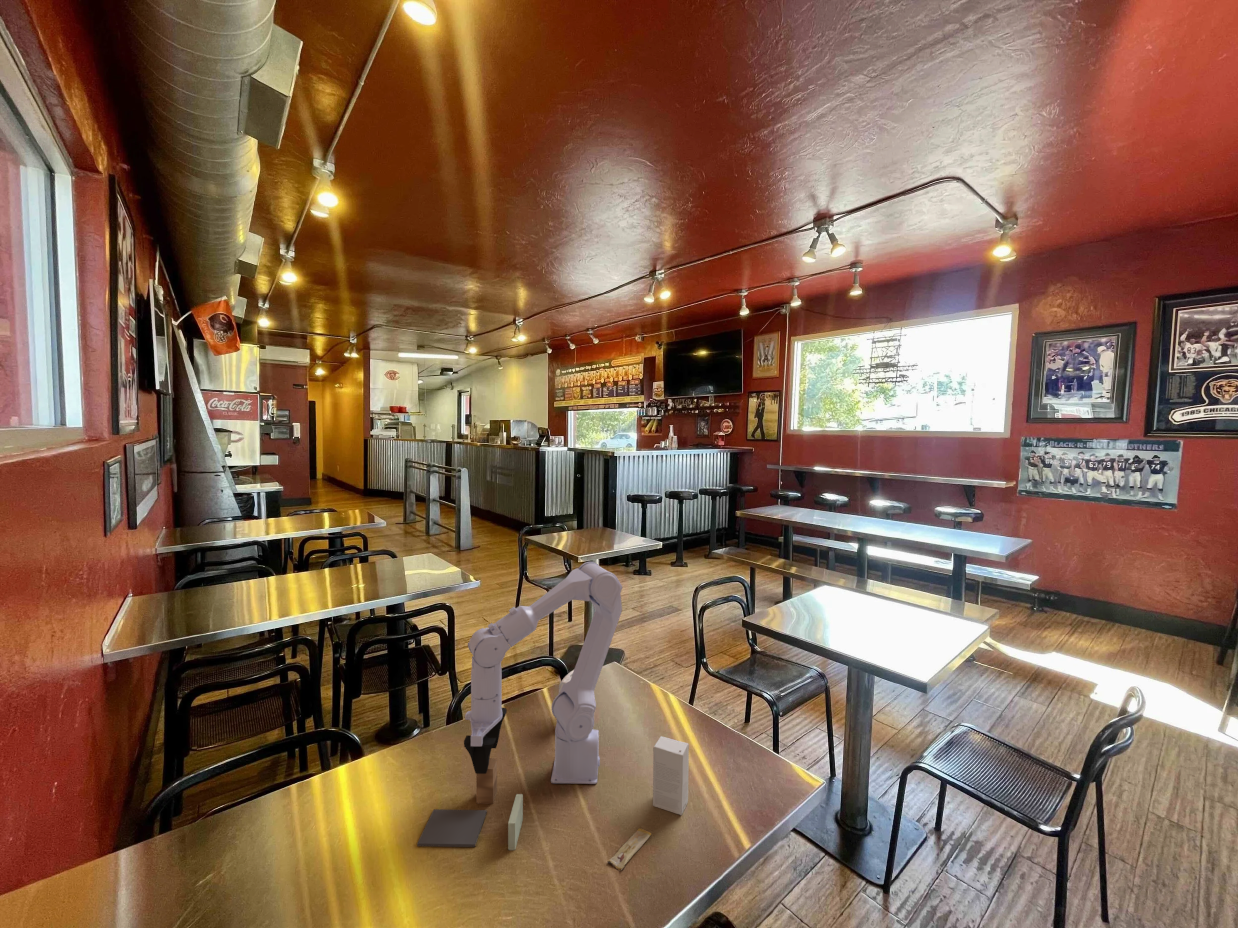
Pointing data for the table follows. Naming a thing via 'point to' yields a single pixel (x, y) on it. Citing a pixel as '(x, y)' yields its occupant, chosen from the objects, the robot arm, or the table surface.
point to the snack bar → (629, 849)
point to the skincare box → (670, 775)
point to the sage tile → (515, 822)
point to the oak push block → (487, 784)
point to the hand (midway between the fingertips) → (486, 759)
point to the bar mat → (452, 828)
